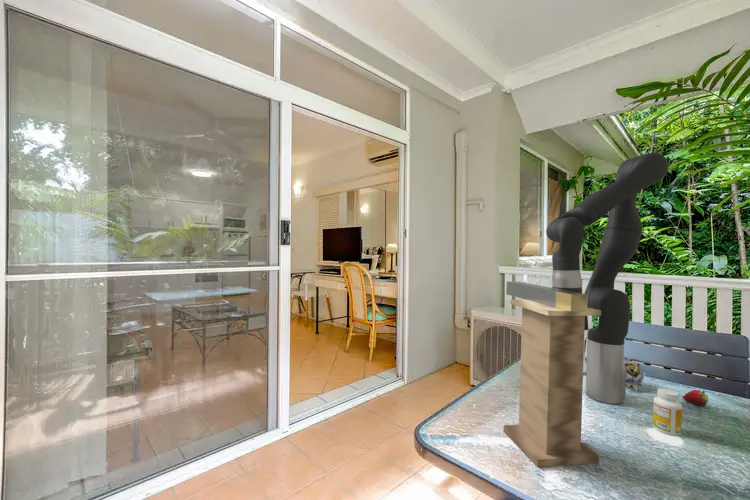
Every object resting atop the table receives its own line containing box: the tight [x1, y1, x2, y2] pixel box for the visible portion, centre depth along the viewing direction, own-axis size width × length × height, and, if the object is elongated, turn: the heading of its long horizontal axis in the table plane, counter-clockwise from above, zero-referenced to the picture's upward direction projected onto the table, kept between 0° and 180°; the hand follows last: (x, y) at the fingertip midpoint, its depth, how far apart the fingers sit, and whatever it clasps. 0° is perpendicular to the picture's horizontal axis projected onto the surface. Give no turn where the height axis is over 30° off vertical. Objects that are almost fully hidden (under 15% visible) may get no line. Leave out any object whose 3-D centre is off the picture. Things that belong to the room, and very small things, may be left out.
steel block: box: [505, 281, 588, 312], centre depth 78 cm, size 4×24×4 cm, turn 8°
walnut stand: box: [503, 299, 601, 468], centre depth 74 cm, size 14×14×32 cm
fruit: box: [681, 389, 709, 407], centre depth 97 cm, size 4×6×5 cm
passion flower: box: [624, 357, 646, 392], centre depth 110 cm, size 11×11×12 cm
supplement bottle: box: [652, 387, 683, 436], centre depth 82 cm, size 5×5×10 cm
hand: (569, 340), depth 97 cm, fingers open, 8 cm apart
